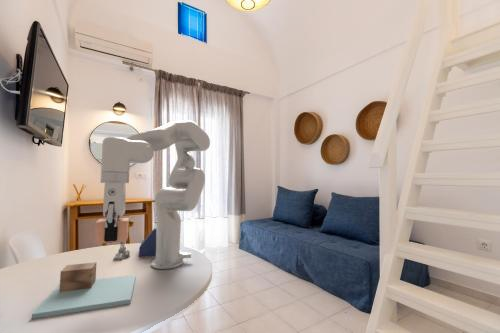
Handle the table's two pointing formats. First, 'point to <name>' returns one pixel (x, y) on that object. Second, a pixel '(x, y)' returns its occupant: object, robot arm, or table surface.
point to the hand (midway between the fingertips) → (112, 237)
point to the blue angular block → (148, 245)
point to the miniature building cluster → (122, 252)
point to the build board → (88, 297)
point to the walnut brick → (77, 277)
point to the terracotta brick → (122, 230)
